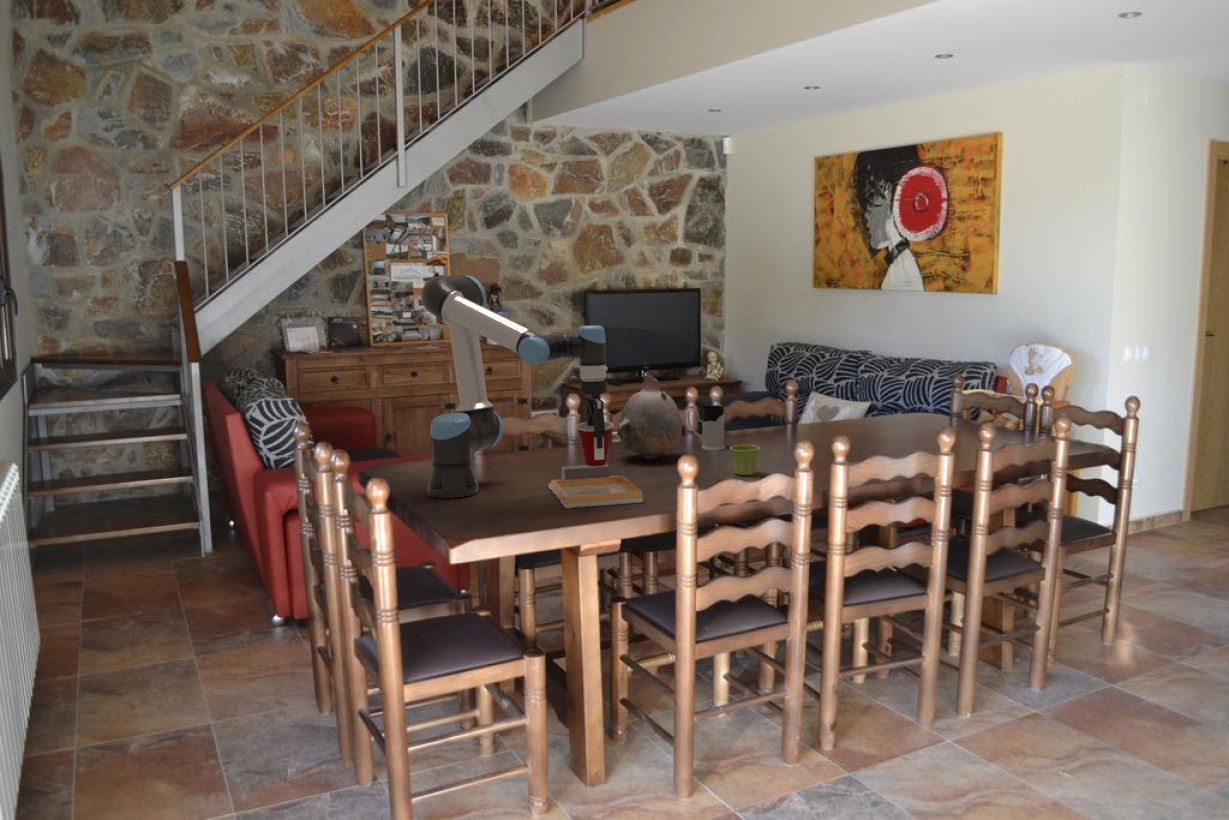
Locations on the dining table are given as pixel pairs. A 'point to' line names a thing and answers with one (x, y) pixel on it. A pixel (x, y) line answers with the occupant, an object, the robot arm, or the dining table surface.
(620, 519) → the dining table surface
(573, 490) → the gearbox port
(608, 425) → the plastic cup
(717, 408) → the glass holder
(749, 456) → the plant pot
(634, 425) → the jug
